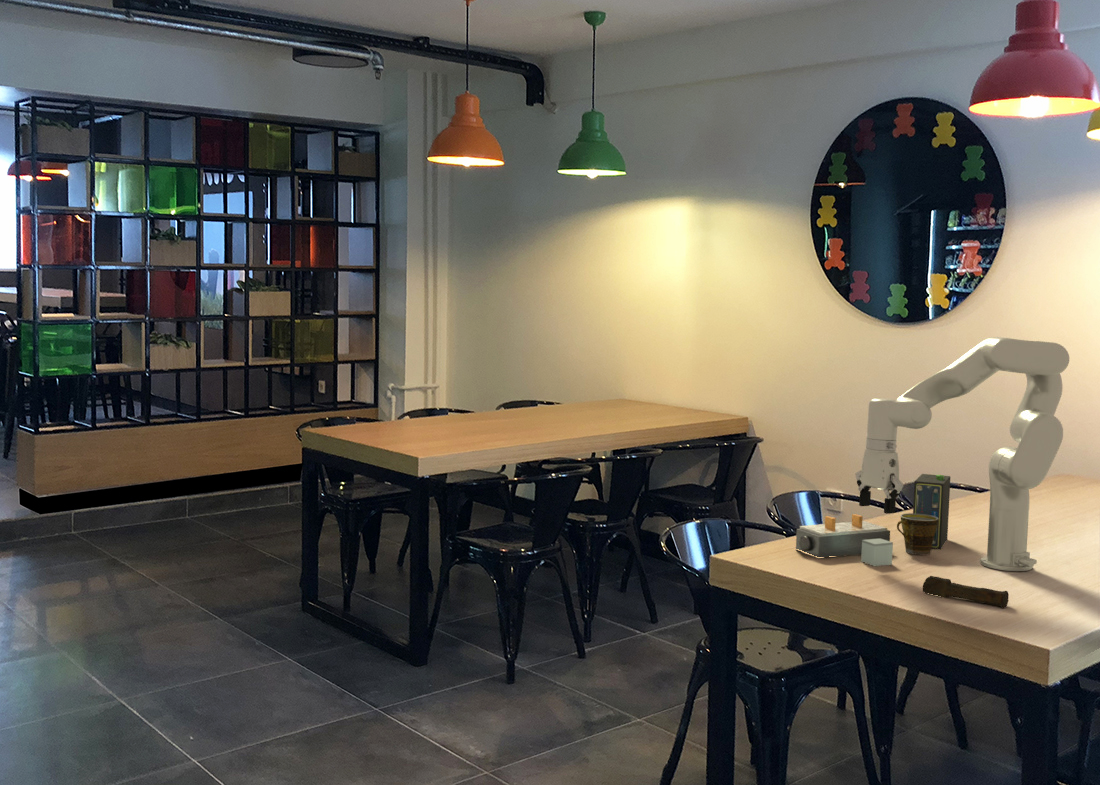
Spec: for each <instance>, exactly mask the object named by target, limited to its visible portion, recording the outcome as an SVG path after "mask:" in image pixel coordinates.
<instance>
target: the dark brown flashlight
mask: <svg viewBox="0 0 1100 785" xmlns="http://www.w3.org/2000/svg"><path fill="white" fill-rule="evenodd" d="M922 592H923V593H924V592H925V593H924V594H927V593H929V594H928V595H930V594H933V595H938V596H941V597H940V598H942V597H948V598H954V599H955V598H957V599H959V600H960V599H962V600H966V601H972V602H978V603H982V604H987V605H991V606H997V607H998V606H999V607H1001V609H1003V610H1004V609H1006V608H1007V607H1008V604H1009V591H1007V590H1003V591H1002V590H995V589H992V588H986V587H976V586H972V585H971V586H970V585H964V584H961V583H956V582H952V581H951V579H950V578H943V577H940V576H935V575H934V576H933V575H930V576H928V577H926V579H925V580H924V582H923V584H922ZM933 595H932V596H933ZM938 596H937V597H938Z"/></svg>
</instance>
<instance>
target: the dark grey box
mask: <svg viewBox="0 0 1100 785" xmlns="http://www.w3.org/2000/svg"><path fill="white" fill-rule="evenodd" d="M913 485H914V486H913V504H912V505H913V506H912V513H916V514H927V515H932V516H935V517H938V518H939V520H938V525H937V529H936V532H935V535H934V539H933V543H932V548H931V550H939V551H940V550H942V549H943V547H944V545H945V544H946V542H947V541H948V532H949V513H950V512H949V511H950V495H951V493H950V492H951V476H950V475H942V474H928V473H921V474H920V475H919V476H918V478H916V479H915V480H914V484H913Z"/></svg>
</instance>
